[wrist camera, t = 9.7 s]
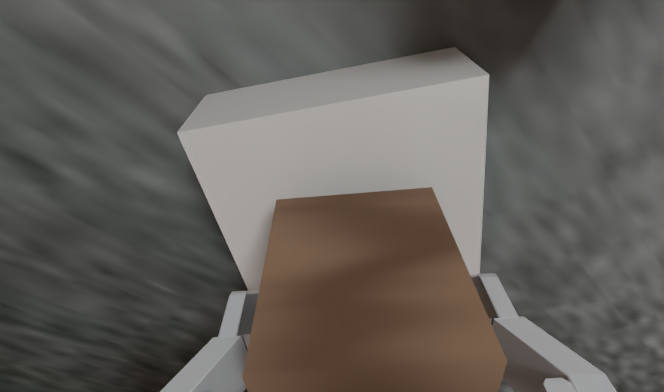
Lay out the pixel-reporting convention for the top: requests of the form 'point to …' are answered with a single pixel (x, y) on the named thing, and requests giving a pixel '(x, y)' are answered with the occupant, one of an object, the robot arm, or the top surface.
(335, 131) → the stone slab
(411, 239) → the walnut block
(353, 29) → the top surface
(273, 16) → the top surface
